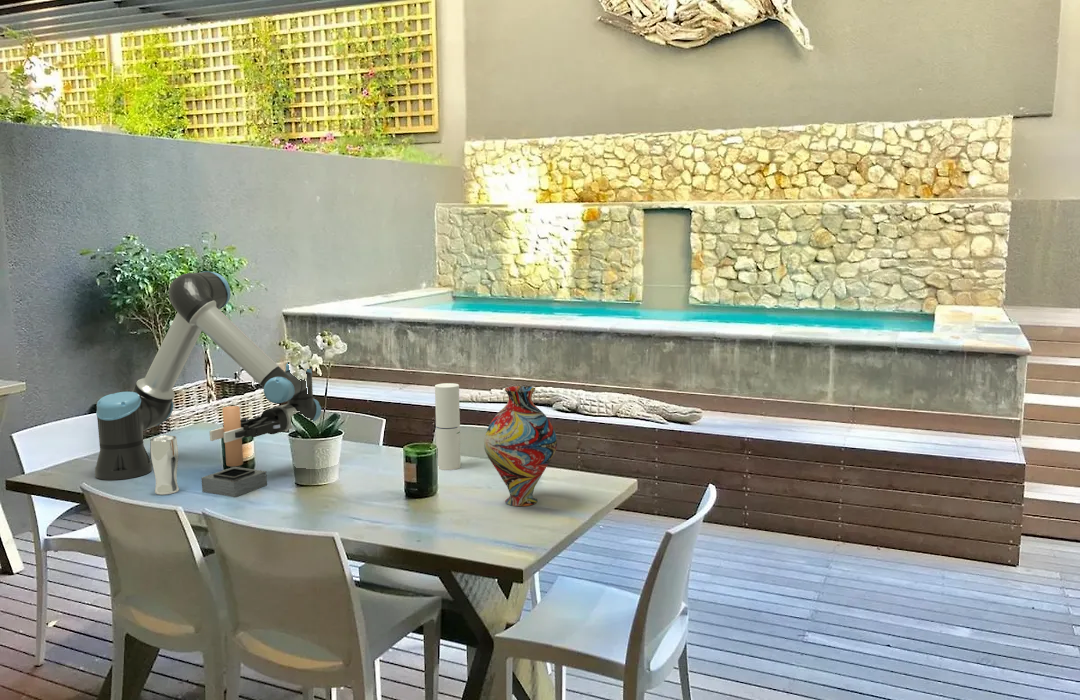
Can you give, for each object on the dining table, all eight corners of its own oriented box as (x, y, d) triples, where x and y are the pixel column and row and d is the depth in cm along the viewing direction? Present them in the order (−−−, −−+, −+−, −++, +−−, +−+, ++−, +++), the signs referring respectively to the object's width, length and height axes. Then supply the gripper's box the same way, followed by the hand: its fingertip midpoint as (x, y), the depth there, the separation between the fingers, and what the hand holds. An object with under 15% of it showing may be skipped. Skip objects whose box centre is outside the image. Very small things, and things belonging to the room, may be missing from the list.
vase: (475, 495, 227) (473, 385, 223) (541, 487, 234) (540, 380, 230) (499, 517, 209) (497, 398, 205) (568, 507, 216) (568, 392, 212)
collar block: (202, 491, 232) (201, 475, 232) (235, 480, 243) (234, 464, 242) (235, 497, 227) (234, 480, 227) (267, 485, 238) (266, 469, 237)
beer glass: (171, 486, 237) (168, 434, 235) (185, 490, 233) (182, 437, 231) (148, 492, 232) (144, 439, 230) (162, 496, 228) (158, 442, 226)
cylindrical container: (432, 466, 255) (430, 385, 252) (451, 462, 260) (449, 382, 257) (446, 471, 250) (444, 388, 247) (465, 466, 255) (463, 385, 252)
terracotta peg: (222, 465, 233) (219, 408, 231) (234, 461, 237) (231, 405, 235) (234, 467, 231) (231, 409, 229) (246, 463, 235) (243, 406, 233)
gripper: (302, 434, 246) (242, 453, 225) (257, 429, 253) (195, 447, 232) (301, 409, 245) (241, 425, 224) (255, 404, 252) (193, 420, 231)
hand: (217, 436), depth 228 cm, fingers closed on terracotta peg, 4 cm apart
